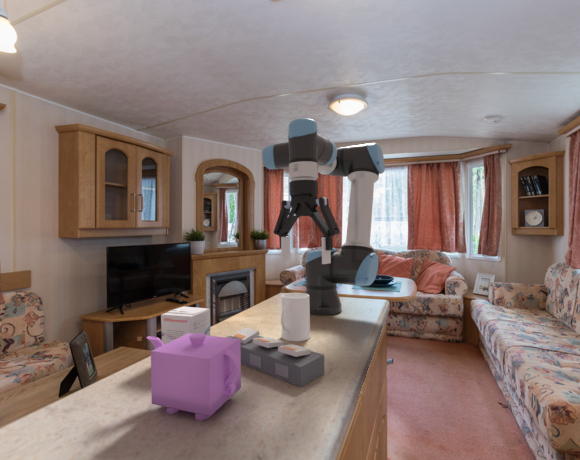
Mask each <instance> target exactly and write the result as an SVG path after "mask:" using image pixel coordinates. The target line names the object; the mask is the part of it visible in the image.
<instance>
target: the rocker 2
mask: <svg viewBox="0 0 580 460" xmlns="http://www.w3.org/2000/svg"><path fill="white" fill-rule="evenodd" d="M263 337H264V338H253V343H254V344H257V345H261V346H264V347H267V348H271V347H278V346H283V343H284V341H282V340H279V339H276V338H273V337H270V336H269V337H268V336H266V337H265V336H263Z"/></svg>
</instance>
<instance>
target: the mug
mask: <svg viewBox="0 0 580 460" xmlns="http://www.w3.org/2000/svg"><path fill="white" fill-rule="evenodd" d="M310 315H311V314H310V303H309V294H306V293H305V292H287V293H284V294H281V314H280V324H281V338H282V339H283V340H284V341H288V342H304V341H307V340H309V339H310V338H311V336H312V334H311V318H310V317H311V316H310Z"/></svg>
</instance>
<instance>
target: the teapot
mask: <svg viewBox="0 0 580 460" xmlns="http://www.w3.org/2000/svg"><path fill="white" fill-rule="evenodd" d="M146 339H147V340H148V341H150V342H151V343H152V345H153V348H154V349H153V350H151V351H150V379H151V380H150V382H151V385H150V387H151V404H152V405H155V406H158V407H159V406H161V407H166V409H165V413H166V414H169V415H173V414H177V413H179V412H180V411H183V412H188V413H190V414H191V413H192V414H194V418H195V420H196V419H197V420H196V421H199V420H200V421H201V420H202V421H206V420H207V419H209V418H210V417H212V416H213V415H214V414H215V413H216V412H217V411H218V410H219V409H220V408H221V407H222V406H223V405H224V404H225V403H227V402H228V401H229V400H230V399H231V398H232V397H233V396H234V395H235V394H236V393H237V392H238V391H239V390H240V389H242V371H241V370H242V366H241V365H242V364H241V350H240V339H233V338H225V337H224V336H215V335H210V336H208V335H205V334H203V333H195V334H191V333H188V334H186V335H184V336H181V337H179V338H177V339H175V340H173V341H171V342H169V343H167V344H165V345H164V344H163V342H162V339H160V338H159V337H157V336H153V335H151V336H150V335H149V336H146ZM205 419H206V420H205Z"/></svg>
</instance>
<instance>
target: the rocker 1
mask: <svg viewBox="0 0 580 460" xmlns="http://www.w3.org/2000/svg"><path fill="white" fill-rule="evenodd" d="M230 336H231V338H233V339H240V343H243V344H245V343H247V342H249V341H250V340H252V339H253V338H255V337H257V336H261V334H260V330H256V329H254V328H250V327H246V326H245V327H243V328H242V329H240V330H238V331H236V332H235V333H233V334H231V335H230Z"/></svg>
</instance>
